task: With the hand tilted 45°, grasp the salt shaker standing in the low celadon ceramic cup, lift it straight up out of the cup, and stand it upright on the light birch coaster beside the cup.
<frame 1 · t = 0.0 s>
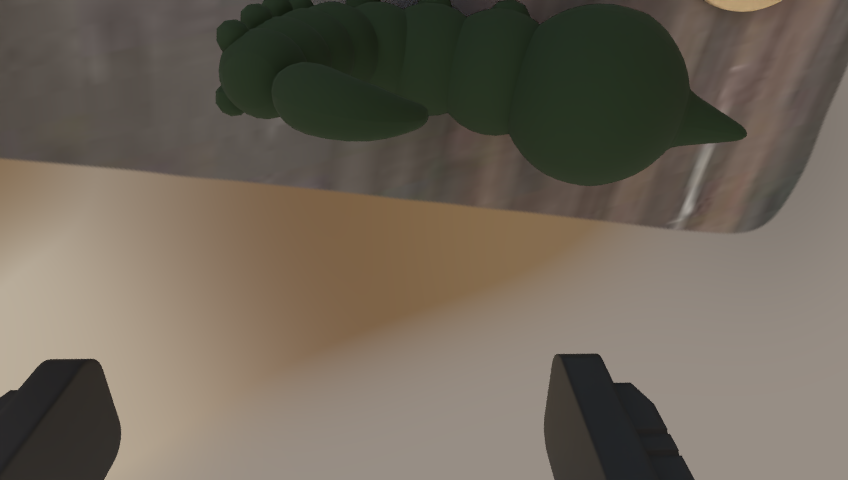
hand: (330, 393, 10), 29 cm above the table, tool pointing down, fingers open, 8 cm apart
toy figurine: (485, 58, 36), on the table
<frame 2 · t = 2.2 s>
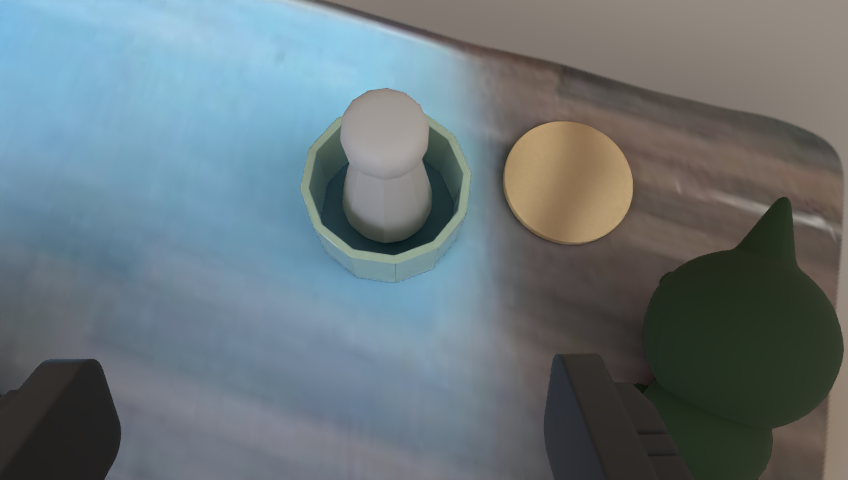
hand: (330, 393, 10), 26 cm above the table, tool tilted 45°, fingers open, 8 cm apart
coaster: (566, 183, 40), on the table
toy figurine: (663, 426, 36), on the table
cup: (388, 210, 39), on the table
salt shaker: (388, 211, 39), resting in cup
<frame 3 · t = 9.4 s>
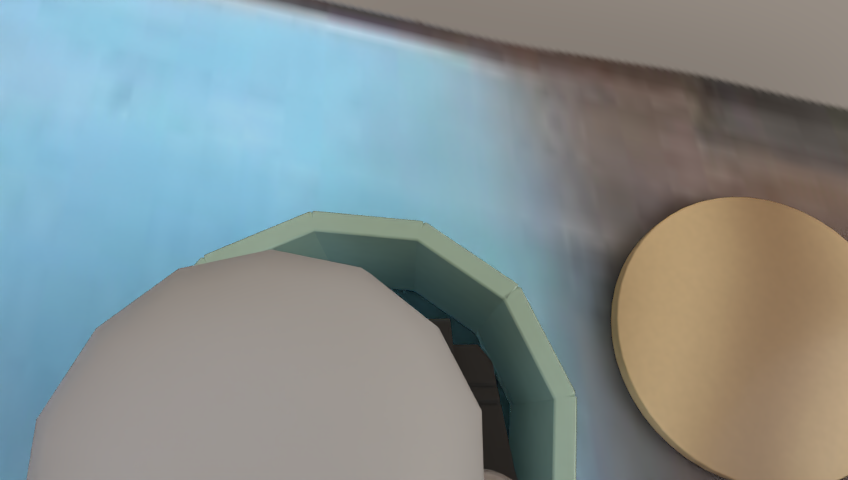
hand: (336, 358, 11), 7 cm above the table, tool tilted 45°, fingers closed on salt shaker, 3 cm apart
coaster: (751, 335, 18), on the table
cup: (360, 432, 17), on the table
salt shaker: (360, 431, 17), resting in cup, touching gripper
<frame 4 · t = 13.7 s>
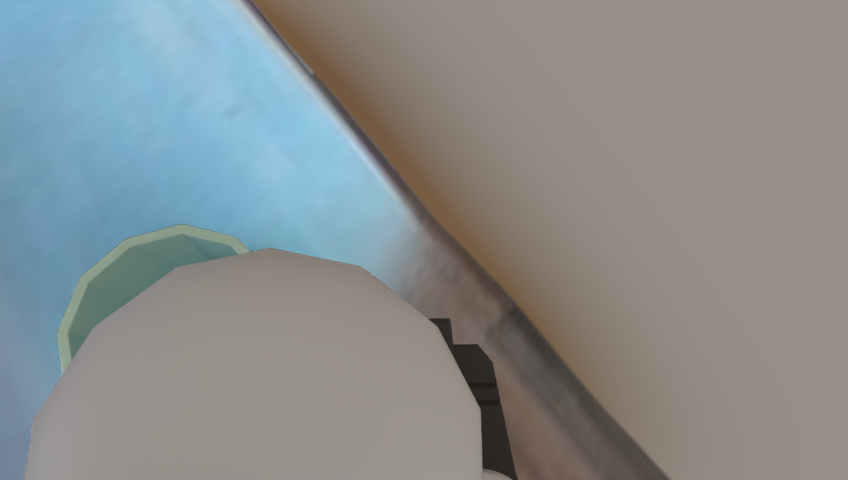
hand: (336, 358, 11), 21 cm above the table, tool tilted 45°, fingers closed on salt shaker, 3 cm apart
cup: (207, 343, 31), on the table
salt shaker: (360, 431, 17), point 14 cm above the table, touching gripper
when the fingers open (7 cm above the table, at t = 18.1 s): salt shaker stays where it is, resting on coaster.
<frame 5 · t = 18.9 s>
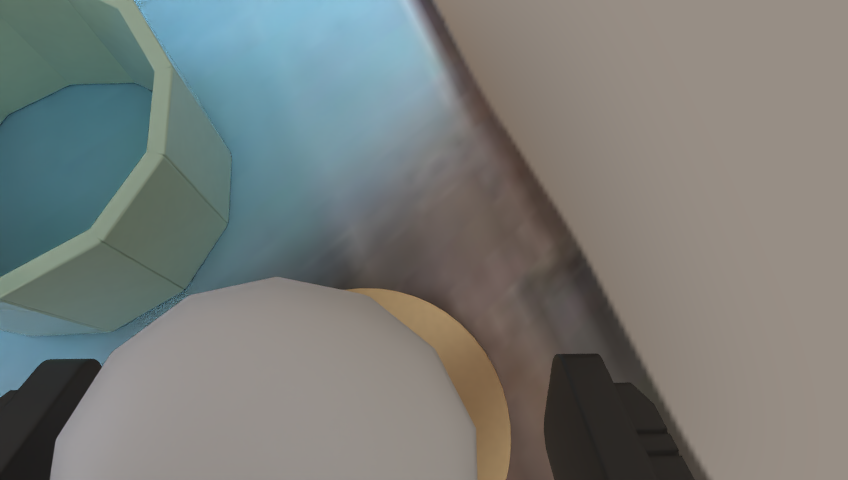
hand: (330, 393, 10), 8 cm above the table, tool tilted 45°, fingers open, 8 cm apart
coaster: (365, 432, 18), on the table
cup: (88, 194, 20), on the table
salt shaker: (361, 438, 18), resting on coaster
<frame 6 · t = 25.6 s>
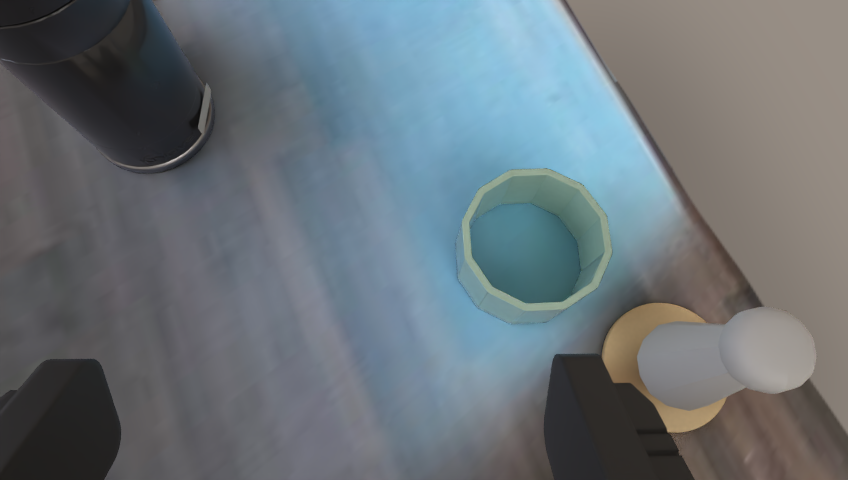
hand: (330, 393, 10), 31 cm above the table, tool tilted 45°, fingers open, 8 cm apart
coaster: (663, 366, 41), on the table
cup: (521, 258, 43), on the table
salt shaker: (665, 368, 41), resting on coaster
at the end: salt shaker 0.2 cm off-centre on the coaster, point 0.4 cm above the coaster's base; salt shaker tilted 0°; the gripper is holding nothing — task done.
